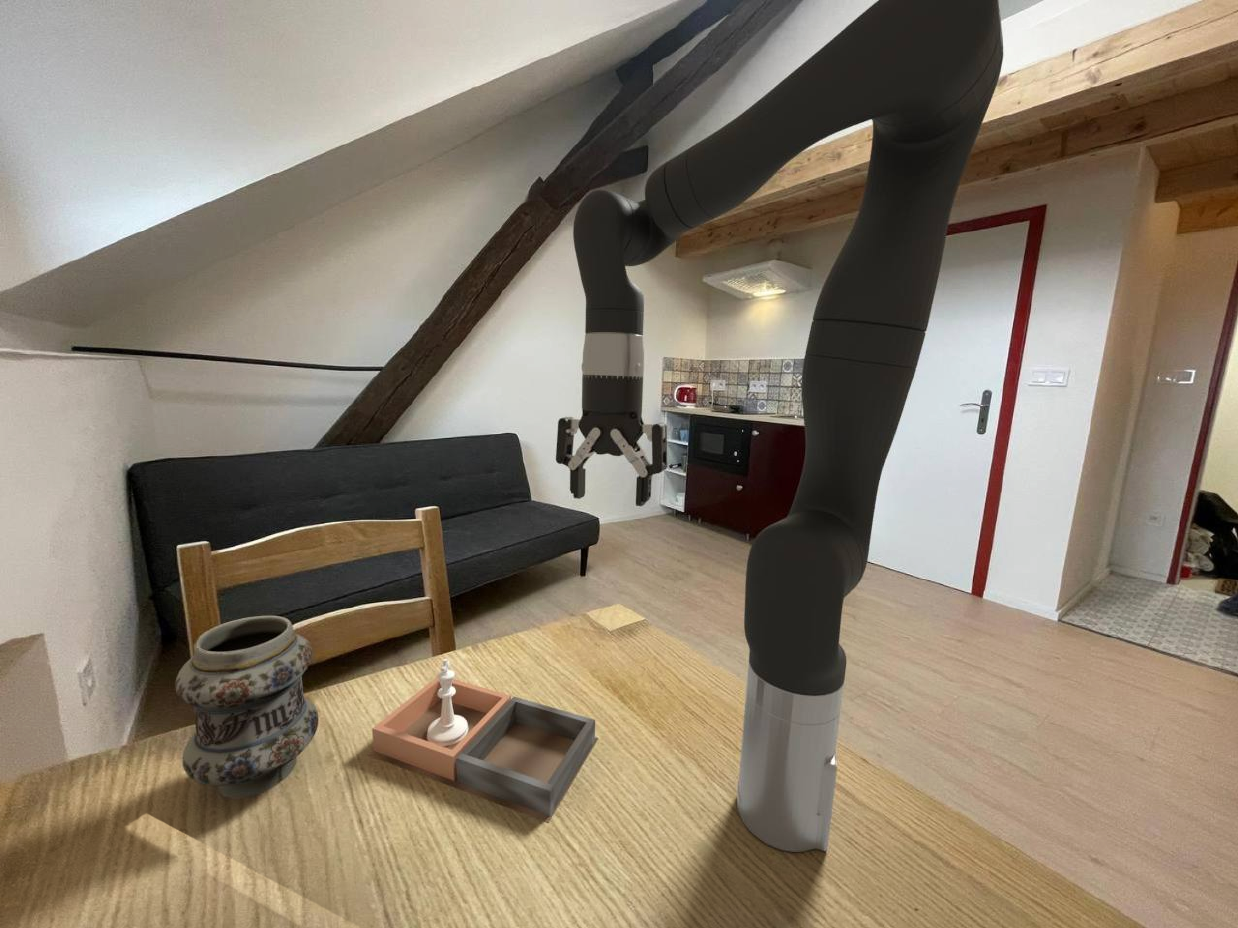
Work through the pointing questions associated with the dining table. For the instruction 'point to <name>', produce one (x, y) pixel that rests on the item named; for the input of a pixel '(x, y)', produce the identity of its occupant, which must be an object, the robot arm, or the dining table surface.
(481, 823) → the dining table surface
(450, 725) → the chess piece
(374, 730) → the orange square tray
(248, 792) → the apothecary jar
